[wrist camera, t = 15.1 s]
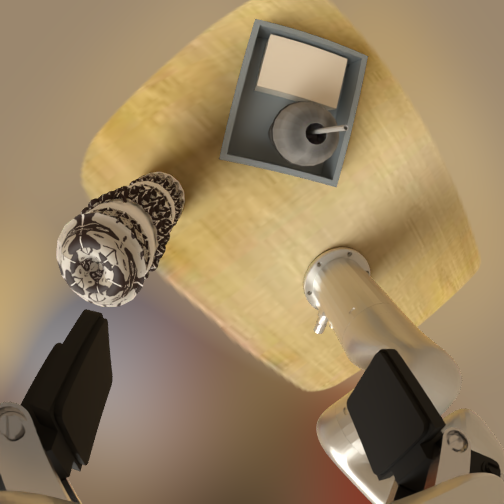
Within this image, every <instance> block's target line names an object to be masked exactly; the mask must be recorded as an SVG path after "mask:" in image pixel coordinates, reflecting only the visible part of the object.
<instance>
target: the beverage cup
mask: <svg viewBox="0 0 504 504" xmlns="http://www.w3.org/2000/svg"><path fill="white" fill-rule="evenodd" d="M348 129H349V128H348V126H347V125H340V126H338V125H337V122H336V120H335V119H334V117H333V116H332V114H331V113H330V112H329V111H328V110H326V109H325V108H324V107H322V106H320V105H317V104H315V103H312V102H307V101H298V102H294V103H291V104H288V105H287V106H285V107H284V108H282V109H281V110H280V111H279V112H278V114H277V115H276V117H275V118H274V121H273V123H272V124H271V126H270V128H269V131H268V138H269V140H270V142H271V144H272V145H273V146H274V147H275V149H276V151H277V152H278V153H279V155H280V156H281V157H282V158H283V159H285V160H286V161H288V162H289V163H290V164H293V165H297V166H300V167H311V166H314V165H317V164H320V163H322V162H324V161H325V160H327V159H328V158H329V157H331V156H332V154H333V153H334V151H335V150H336V148H337V145H338V142H339V131H347V130H348Z"/></svg>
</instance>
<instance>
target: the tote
mask: <svg viewBox="0 0 504 504" xmlns="http://www.w3.org/2000/svg"><path fill="white" fill-rule="evenodd" d="M271 34H272V35H276V36H280V37H283V38H287V39H291V40H294V41H297V42H301V43H304V44H307V45H310V46H313V47H316V48H319V49H322V50H325V51H328V52H330V53H333V54H336V55H338V56H341V57H343V58H346V59H347V64H346V68H345V73H344V77H343V82H342V86H341V91H340V95H339V99H338V104H337V108H336V109H333V110H328V111H329V112H330V113H331V114H332V116H333V117H334V119H335V120H336V122H337V125H338V126H340V125H347V126H348V128H349V129H348V130H347V131H339V142H338V145H337V148H336V150H335V151H334V153H333V154H332V156H331V157H329V158H328V159H327V160H325V161H324V162H322V163H320V164H317V165H314V166H311V167H300V166H297V165H293V164H290V163H289V162H288V161H286V160H285V159H283V158H282V157H281V156H280V155H279V153H278V152H277V151H276V149H275V147H274V146H273V145H272V144H271V142H270V140H269V138H268V131H269V128H270V126H271V124H272V123H273V121H274V118H275V117H276V115H277V114H278V112H279V111H280V110H281V109H282V108H284V107H285V106H287V105H288V104H291V103H294V102H297V101H293V100H290V99H286V98H282V97H279V96H275V95H271V94H267V93H263V92H259V91H254V88H255V84H256V80H257V76H258V72H259V69H260V65H261V61H262V57H263V54H264V50H265V46H266V43H267V41H268V39H269V37H270V35H271ZM367 58H368V56H366V55H364V54H362V53H359V52H357V51H355V50H352V49H350V48H347V47H345V46H342V45H340V44H337V43H335V42H332V41H329V40H326V39H324V38H321V37H318V36H315V35H312V34H309V33H306V32H303V31H299V30H296V29H293V28H289V27H286V26H282V25H278V24H274V23H270V22H266V21H262V20H258V19H255V22H254V25H253V28H252V32H251V35H250V39H249V42H248V46H247V49H246V53H245V56H244V60H243V64H242V67H241V71H240V75H239V79H238V83H237V86H236V90H235V94H234V98H233V102H232V106H231V110H230V114H229V119H228V123H227V127H226V131H225V135H224V140H223V144H222V149H221V153H220V158H219V159H220V160H225V161H230V162H235V163H240V164H245V165H249V166H254V167H259V168H263V169H267V170H272V171H276V172H280V173H284V174H288V175H292V176H296V177H300V178H304V179H308V180H312V181H315V182H319V183H323V184H326V185H330V186H334V187H337V184H338V180H339V176H340V173H341V169H342V165H343V162H344V158H345V154H346V150H347V146H348V142H349V139H350V135H351V131H352V126H353V122H354V118H355V114H356V110H357V105H358V101H359V96H360V92H361V87H362V83H363V78H364V73H365V68H366V63H367Z"/></svg>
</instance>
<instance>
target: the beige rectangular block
mask: <svg viewBox="0 0 504 504" xmlns="http://www.w3.org/2000/svg"><path fill="white" fill-rule="evenodd" d="M346 64H347V59H346V58H343V57H341V56H338V55H336V54H333V53H330V52H328V51H325V50H322V49H319V48H316V47H313V46H310V45H307V44H304V43H301V42H297V41H294V40H291V39H287V38H283V37H280V36H276V35H272V34H271V35H270V37H269V39H268V41H267V43H266V46H265V50H264V54H263V57H262V61H261V65H260V69H259V72H258V76H257V80H256V84H255V88H254V91H259V92H263V93H267V94H271V95H275V96H279V97H282V98H286V99H290V100H293V101H297V102H298V101H307V102H312V103H315V104H317V105H320V106H322V107H324V108H325V109H326V110H333V109H336V108H337V104H338V99H339V95H340V91H341V86H342V82H343V77H344V73H345V68H346Z"/></svg>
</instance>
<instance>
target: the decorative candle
mask: <svg viewBox="0 0 504 504" xmlns="http://www.w3.org/2000/svg"><path fill="white" fill-rule="evenodd" d="M184 203H185V197H184V190H183V188H182V186H181V185H180V183H179V181H178V180H176V179H175V178H174V177H173V176H172V175H170V174H167V173H163V172H153V173H149V174H147V175H143V176H142V177H139V178H138V179H136V180H135V181H132V182H131V183H130V185H129V186H123V187H121V188H118V189H116V190H115V191H110V192H108V193H107V194H103V195H101V196H100V197H99V198H98V199H92V200H91V201H90V202H89V204H88V207H86V208H84V209H83V210H82V212H81V215H78V216H76V217H75V218H74V219H72V220H71V221H70V222H68V223H67V224H65V226H64V228H63V230H62V232H61V234H60V236H59V238H58V242H57V256H56V257H57V261H58V264H59V268H60V271H61V275H62V276H63V278H64V279H65V281H66V282H67V284H68V285H69V286H70V288H71V289H72V290H73V291H74V292H75V293H76V294H78V295H79V296H80V297H82V298H83V299H84V300H85V301H87V302H90V303H93V304H96V305H99V306H101V307H114V306H120V305H122V304H125V303H126V302H128V301H131V300H133V299H134V297H135V296H136V295H137V293H138V292H139V291H140V290H141V288H142V287H143V283H144V280H145V279H147V278H148V276H149V271H150V272H152V271H154V270H156V268H157V267H158V263H159V259H160V258H161V257H162V256H163V254H164V252H165V249H166V247H165V245H166V244H167V242H168V241H169V239H170V232H171V230H172V228H173V226H174V225H176V223H177V221H178V219H179V218H180V216H181V214H182V210H183V207H184ZM155 251H156V252H155Z"/></svg>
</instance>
